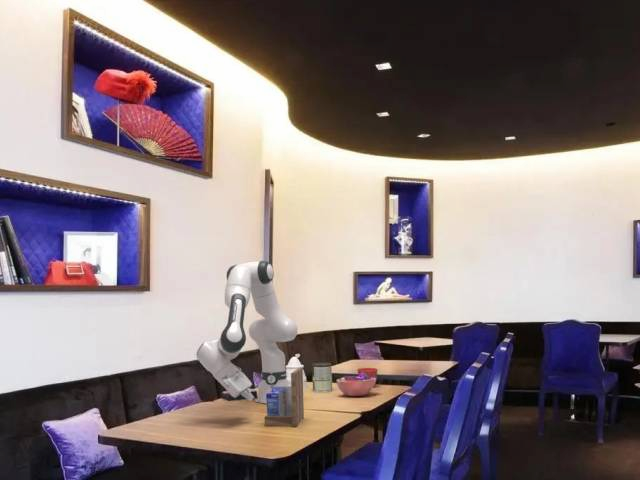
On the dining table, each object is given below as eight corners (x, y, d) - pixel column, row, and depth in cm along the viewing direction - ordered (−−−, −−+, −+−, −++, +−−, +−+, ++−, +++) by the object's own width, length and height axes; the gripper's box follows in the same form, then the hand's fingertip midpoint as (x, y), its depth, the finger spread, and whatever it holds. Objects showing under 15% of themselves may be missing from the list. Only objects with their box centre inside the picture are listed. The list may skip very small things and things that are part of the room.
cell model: (331, 395, 303) (330, 372, 304) (367, 391, 310) (367, 369, 311) (344, 400, 287) (343, 375, 288) (382, 396, 294) (381, 372, 295)
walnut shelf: (273, 417, 249) (272, 368, 251) (303, 417, 247) (302, 367, 249) (263, 427, 231) (262, 373, 233) (296, 427, 230) (294, 373, 231)
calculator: (221, 391, 304) (249, 387, 311) (221, 400, 304) (249, 395, 311) (228, 394, 294) (257, 389, 301) (228, 403, 294) (257, 398, 301)
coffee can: (308, 391, 318) (308, 363, 319) (325, 389, 324) (324, 362, 325) (320, 393, 309) (319, 365, 311) (336, 391, 315) (335, 363, 317)
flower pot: (376, 385, 331) (375, 367, 332) (379, 388, 320) (378, 369, 321) (357, 386, 330) (356, 368, 331) (359, 389, 320) (358, 370, 321)
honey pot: (306, 385, 338) (305, 353, 340) (306, 389, 325) (305, 355, 327) (283, 386, 338) (282, 353, 340) (282, 389, 325) (281, 355, 327)
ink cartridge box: (272, 419, 245) (271, 383, 246) (285, 419, 244) (284, 383, 246) (266, 425, 235) (265, 386, 237) (280, 425, 234) (279, 386, 236)
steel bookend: (274, 417, 250) (273, 385, 251) (300, 417, 248) (299, 384, 250) (271, 419, 246) (271, 386, 247) (298, 419, 244) (297, 386, 245)
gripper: (225, 372, 234) (251, 398, 232) (239, 366, 254) (263, 389, 252) (214, 384, 234) (240, 410, 232) (229, 377, 254) (253, 400, 252)
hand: (252, 399), depth 242 cm, fingers closed
